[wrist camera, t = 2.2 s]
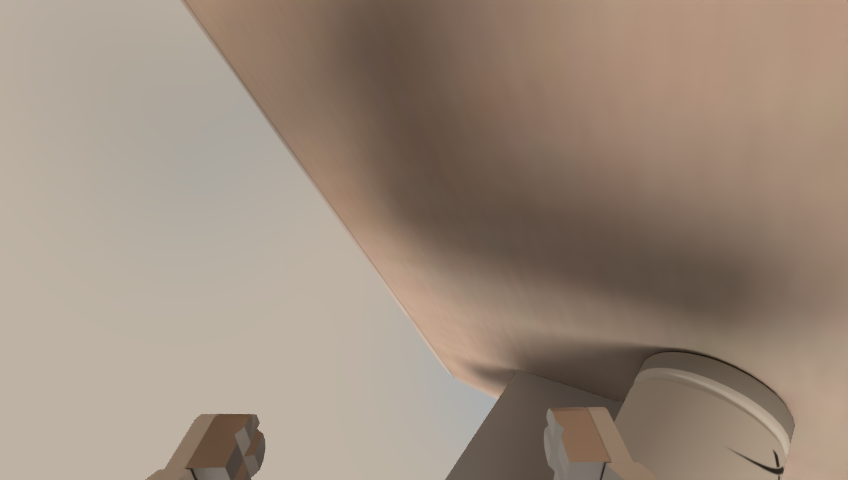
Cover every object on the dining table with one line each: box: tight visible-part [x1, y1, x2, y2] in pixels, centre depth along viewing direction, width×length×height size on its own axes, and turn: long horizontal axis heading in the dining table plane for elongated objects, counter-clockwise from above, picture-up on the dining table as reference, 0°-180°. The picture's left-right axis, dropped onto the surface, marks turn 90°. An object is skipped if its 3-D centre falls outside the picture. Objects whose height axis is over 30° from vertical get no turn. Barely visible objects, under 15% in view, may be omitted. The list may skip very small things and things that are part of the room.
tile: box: [445, 370, 623, 480], centre depth 27 cm, size 2×10×12 cm, turn 132°
